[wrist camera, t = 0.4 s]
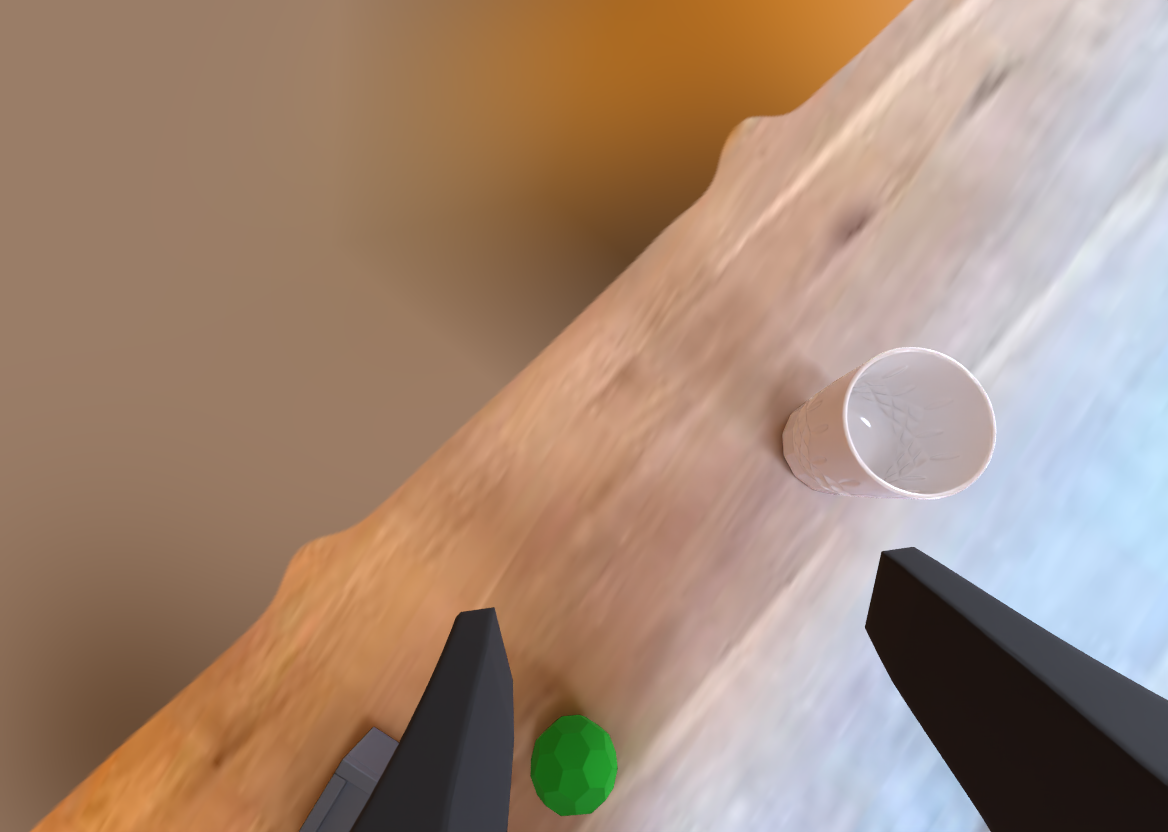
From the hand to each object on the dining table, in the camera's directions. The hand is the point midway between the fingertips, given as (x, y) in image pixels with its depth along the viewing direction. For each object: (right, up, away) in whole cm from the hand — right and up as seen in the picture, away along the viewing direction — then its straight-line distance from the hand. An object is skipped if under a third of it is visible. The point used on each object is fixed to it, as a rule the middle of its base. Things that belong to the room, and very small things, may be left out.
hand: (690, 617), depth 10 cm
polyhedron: (-3, -17, +24) cm, 29 cm away
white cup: (+15, +2, +27) cm, 31 cm away
